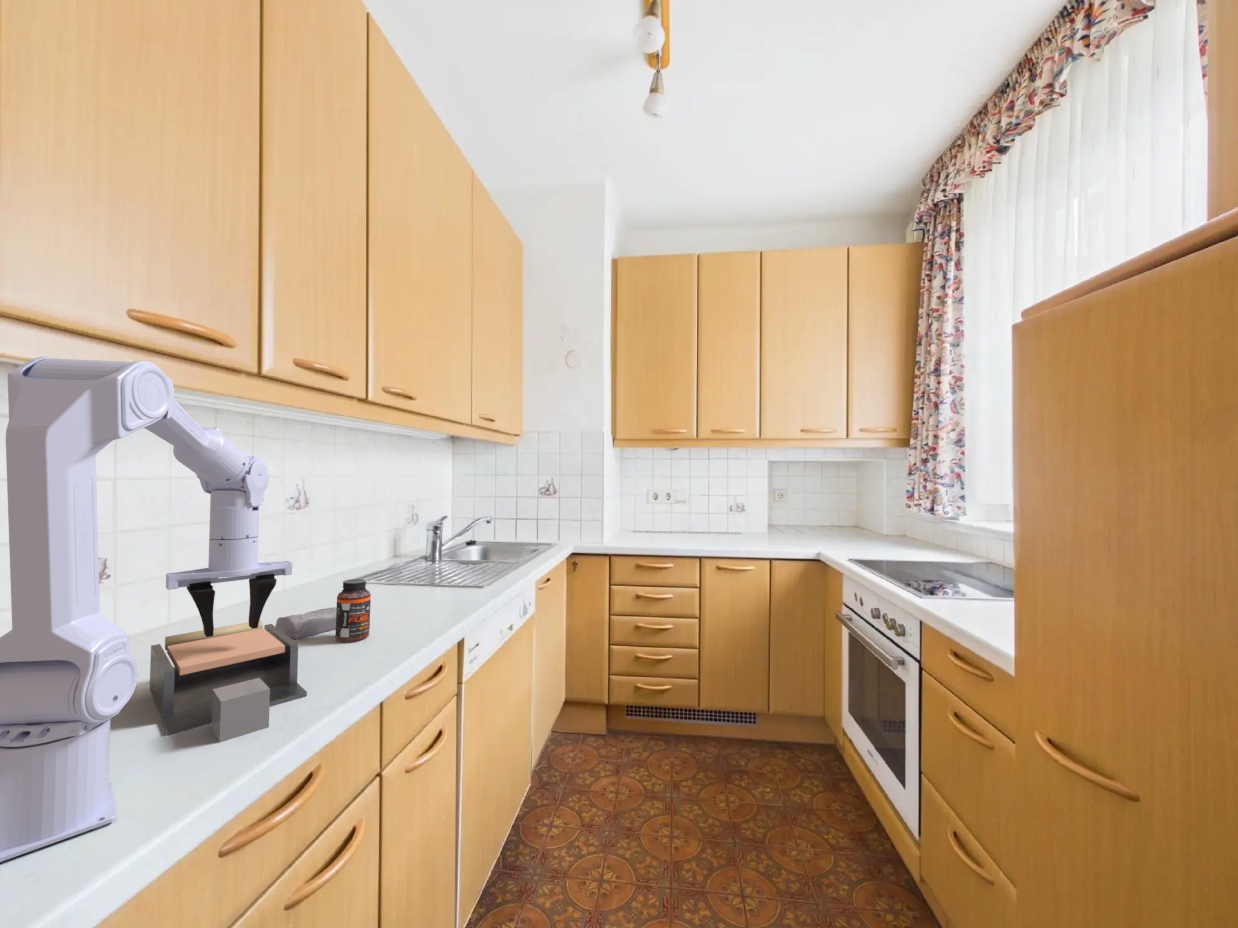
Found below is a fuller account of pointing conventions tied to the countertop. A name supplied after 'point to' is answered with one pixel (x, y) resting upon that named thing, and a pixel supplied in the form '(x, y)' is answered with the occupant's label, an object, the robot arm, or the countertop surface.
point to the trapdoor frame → (219, 683)
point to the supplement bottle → (353, 611)
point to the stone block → (308, 623)
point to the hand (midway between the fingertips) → (231, 630)
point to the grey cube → (240, 709)
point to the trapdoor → (220, 647)
